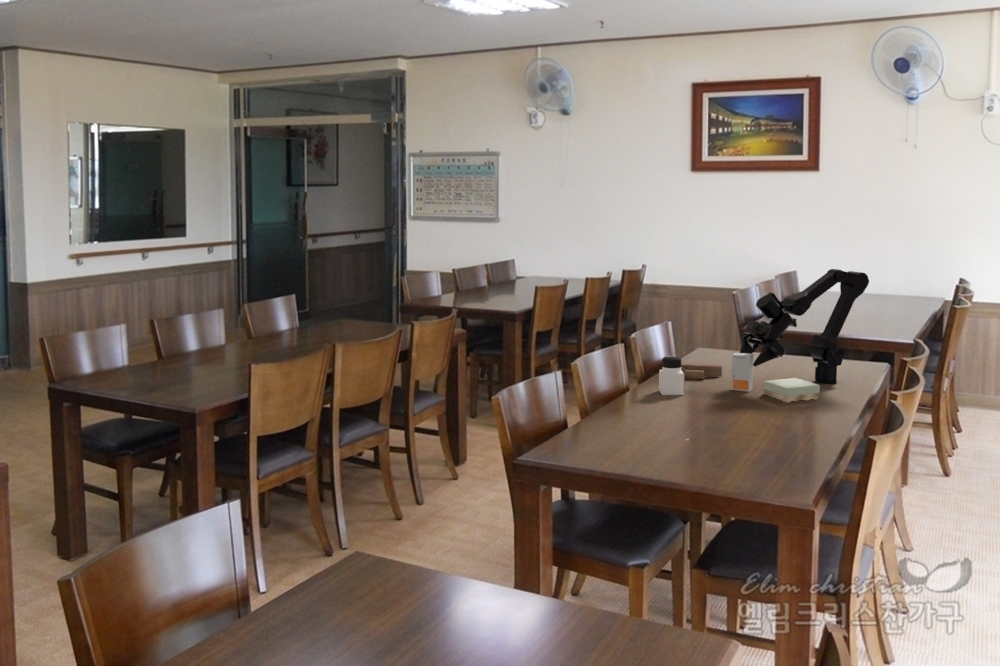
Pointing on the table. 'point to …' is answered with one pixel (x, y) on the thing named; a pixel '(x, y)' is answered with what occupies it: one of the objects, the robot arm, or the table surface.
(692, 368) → the wooden block set
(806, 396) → the bottom slab
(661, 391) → the medicine bottle
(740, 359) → the skincare box
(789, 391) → the top slab
